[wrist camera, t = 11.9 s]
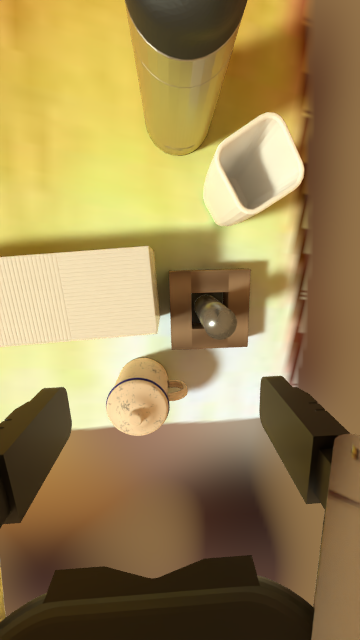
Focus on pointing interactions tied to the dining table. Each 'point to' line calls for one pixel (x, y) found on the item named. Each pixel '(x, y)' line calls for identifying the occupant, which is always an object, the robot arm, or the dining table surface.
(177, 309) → the socket block
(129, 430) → the teacup with lid
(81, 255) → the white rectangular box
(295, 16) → the dining table surface
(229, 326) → the metal pin
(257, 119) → the cup
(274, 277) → the dining table surface
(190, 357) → the dining table surface
